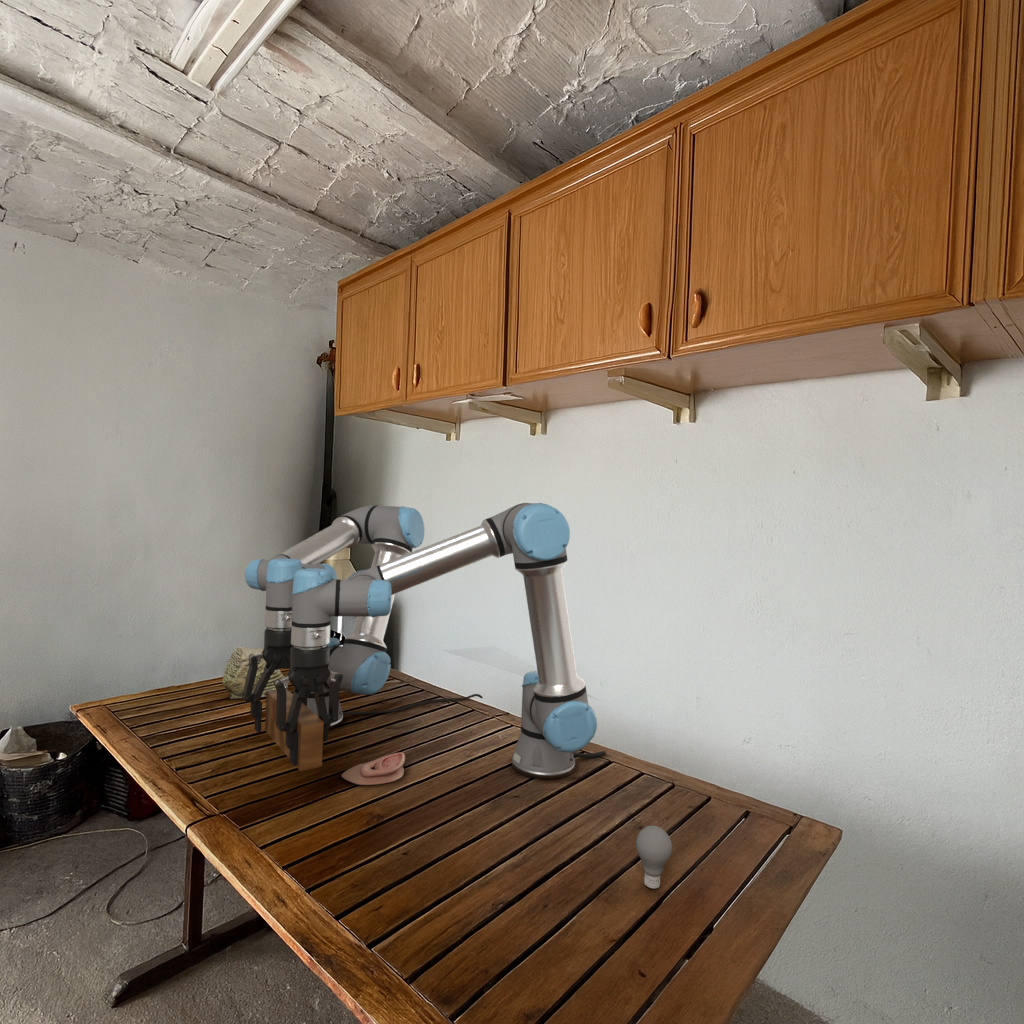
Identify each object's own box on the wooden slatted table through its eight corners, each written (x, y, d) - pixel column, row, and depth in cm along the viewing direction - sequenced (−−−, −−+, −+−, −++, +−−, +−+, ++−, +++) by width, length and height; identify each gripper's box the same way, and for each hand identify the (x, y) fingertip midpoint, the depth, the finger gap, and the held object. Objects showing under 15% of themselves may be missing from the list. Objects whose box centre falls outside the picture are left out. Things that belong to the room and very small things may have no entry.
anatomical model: (335, 763, 141) (358, 744, 152) (334, 781, 141) (357, 761, 152) (391, 771, 138) (410, 751, 149) (391, 789, 138) (410, 768, 149)
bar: (264, 730, 145) (266, 690, 145) (284, 726, 147) (285, 687, 147) (300, 771, 124) (301, 725, 124) (322, 766, 127) (323, 721, 127)
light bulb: (629, 875, 110) (632, 818, 110) (663, 875, 110) (666, 818, 110) (639, 897, 104) (642, 837, 104) (675, 897, 104) (678, 837, 104)
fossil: (218, 695, 195) (220, 647, 195) (278, 685, 208) (279, 640, 207) (228, 703, 189) (230, 653, 188) (289, 692, 201) (290, 645, 201)
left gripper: (236, 635, 134) (232, 741, 134) (334, 626, 146) (330, 723, 147) (228, 628, 140) (224, 730, 140) (322, 620, 152) (319, 714, 153)
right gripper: (271, 654, 120) (266, 777, 120) (358, 645, 130) (354, 757, 130) (260, 646, 126) (256, 762, 126) (345, 637, 136) (341, 745, 136)
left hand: (278, 726), depth 144 cm, fingers open, 8 cm apart
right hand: (306, 760), depth 128 cm, fingers closed on bar, 4 cm apart
